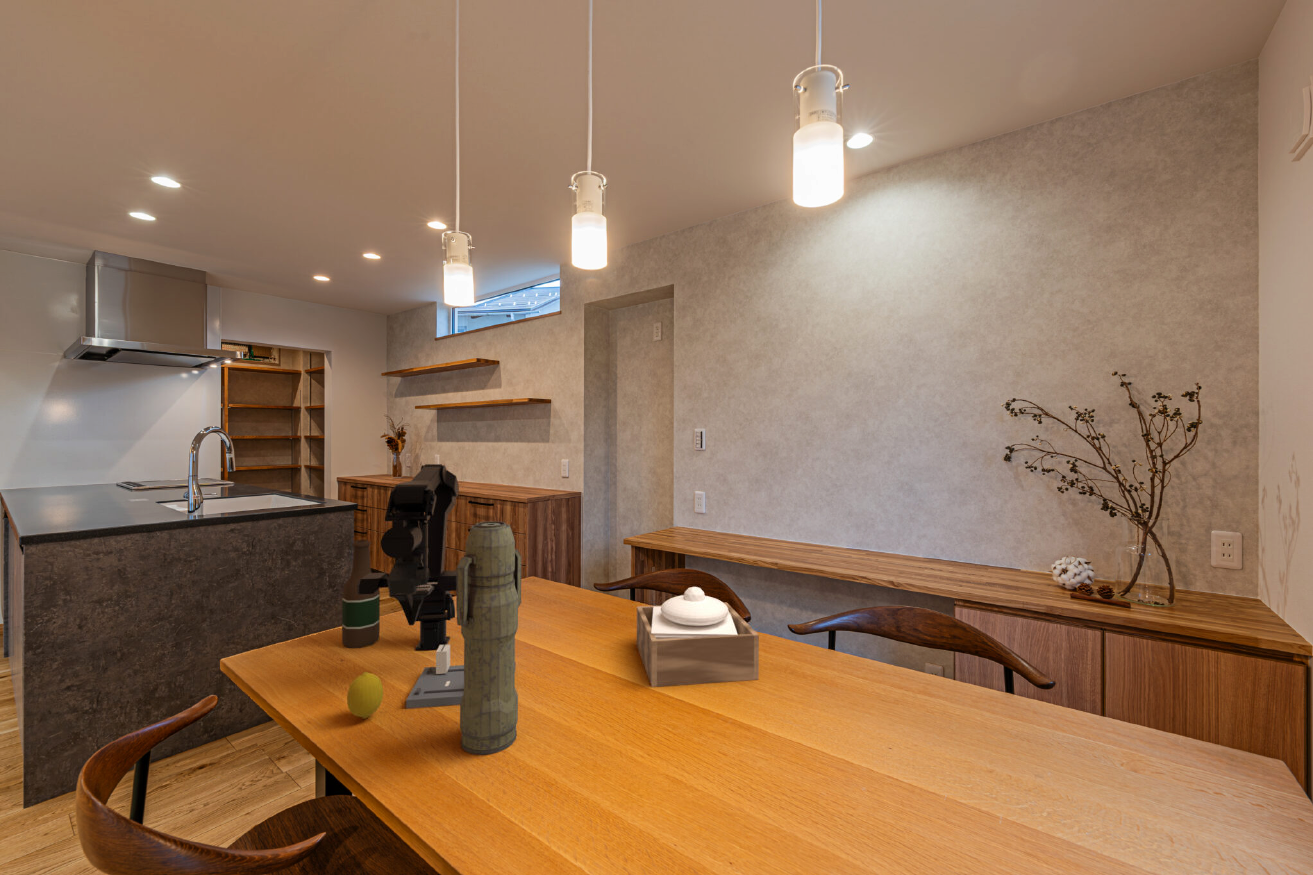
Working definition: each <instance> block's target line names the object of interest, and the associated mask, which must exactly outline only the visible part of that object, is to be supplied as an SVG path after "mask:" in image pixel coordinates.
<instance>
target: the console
mask: <svg viewBox="0 0 1313 875" xmlns="http://www.w3.org/2000/svg"><path fill="white" fill-rule="evenodd" d="M516 663H517V662H516V661H515V670H516ZM463 694H464V664H460V665H450V667H449V669H448V671H447V673H445V674H436V666H427V667H424V669H423V670H422V672H421V674H420V676H419V677H418V679H417V681H416V682H415V684H414V686H413V688H412V689H411V691H410V693H409V694H408V696H407V698H406V699H405V702H406V703H405V709H417V708H418V709H419V708H432V707H433V708H434V707H445V706H460V702H461V700H462V697H463Z"/></svg>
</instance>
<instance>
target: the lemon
mask: <svg viewBox="0 0 1313 875" xmlns="http://www.w3.org/2000/svg"><path fill="white" fill-rule="evenodd" d="M346 696H347V697H346V699H347V700H346V702H347V707H348V710H349V711H350V713H351V714H352V715H353V716H355V717H357V718H358V717H359V718H360V717H361V718H362V719H363V720H365V719H368V718H369V717H370V716H371V715H373V714H374V713H375V712H376V711H377V710H378V709H379V708H380V706H381V704H382V702H383V699H384V686H383V683H382V680H381V679H380V677H379V676H377V675H376V674H374V673H370V672H368V671H363V672H362V674H359V675H358V676H357V677H356V678H354V680H352V682H351V683H350V685H349V688H348V690H347V695H346Z"/></svg>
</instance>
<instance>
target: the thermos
mask: <svg viewBox="0 0 1313 875" xmlns="http://www.w3.org/2000/svg"><path fill="white" fill-rule="evenodd" d="M515 546H516V541H515V537H514V534H513V530H512V528H511V525H510V524H507V522H503V521H494V520H493V521H492V520H491V521H482V522H477V523H475V525H472V526H471V527H470V530H469V533H468V536H467V539H466V541H465V554H464V555H463V556H462V557H460V560H459V562H458V563H457V566H456V570H457V590H456V593H455V594H456V595H455V596H456V605H455V614H456V623H457V626H460V633H461V635H462V638H463V641H464V642H463V646H464V647H463V651H464V652H463V665H464V694H463V697H462V700H461V702H460V705H459V706H460V707H459V729H460V732H461V738H460V745H461V749H462V750H464V752H466V753H470V754H472V755H479V756H483V755H491V754H496V753H499V752H502V751H504V750H506V749H508V748H509V747H510V746H512V745H513V744H514V743H515V741H517V724H518V721H519V720H518V718H519V714H518V713H519V710H518V709H519V695H518V692H517V689H516V687H515V681H516V680H515V678H516V677H515V673H516V669H515V662H516V661H515V660H516V658H515V657H516V635H517V631H518V629H519V607H520V606H521V604H522V555H521V553H520V551H519V550H518V549H516V548H515Z"/></svg>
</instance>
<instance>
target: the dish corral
mask: <svg viewBox="0 0 1313 875" xmlns="http://www.w3.org/2000/svg"><path fill="white" fill-rule="evenodd" d="M723 603H724V604H725V605H726V606H727V607H728V611H729V613H730V614H731V617H732V620H733V623H734V625H735V628H736V631H737V634H738V635H723V636H705V637H687V638H669V639H656V637H655V635H654V633H651V630H652V618H653V607H661V606H662V604H661V605H640V606H636V648H637V650H638V653H639V655H640V658H641V660H642V664H643V666H644V669H645V672H646V675H647V678H648V681H649V683H650V686H651V688H657V687H658V688H659V687H671V686H685V685H686V686H687V685H699V684H700V685H701V684H712V683H713V684H715V683H728V682H742V681H753V680H754V681H755V680H759V671H760V670H759V667H760V666H759V663H760V662H759V661H760V660H759V657H760V656H759V655H760V652H759V649H760V644H759V643H760V635H759V634H758V633H757V632H756V631H755V629H753V627H752V626H750V625H749V624H748V622H746V621H745V619H743V618H742V617H741V615H740V614H739V613H738V612H737V611H735V609H734V608H733V607H732V606H731V605H730V604H729V603H728V602H723Z"/></svg>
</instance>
